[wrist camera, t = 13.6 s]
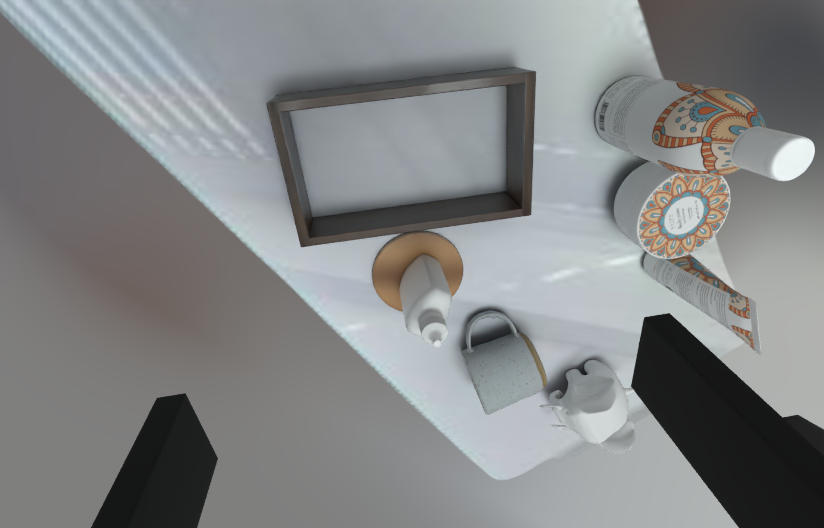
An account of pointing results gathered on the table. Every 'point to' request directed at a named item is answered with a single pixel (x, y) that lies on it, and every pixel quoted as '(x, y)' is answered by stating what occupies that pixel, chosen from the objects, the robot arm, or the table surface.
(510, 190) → the dark wooden open box
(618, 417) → the elephant figurine
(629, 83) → the cosmetic set
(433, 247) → the coaster
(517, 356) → the ceramic mug
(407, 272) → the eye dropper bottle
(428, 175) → the table surface
